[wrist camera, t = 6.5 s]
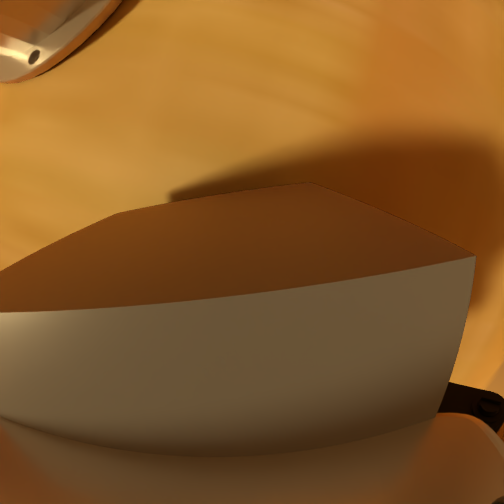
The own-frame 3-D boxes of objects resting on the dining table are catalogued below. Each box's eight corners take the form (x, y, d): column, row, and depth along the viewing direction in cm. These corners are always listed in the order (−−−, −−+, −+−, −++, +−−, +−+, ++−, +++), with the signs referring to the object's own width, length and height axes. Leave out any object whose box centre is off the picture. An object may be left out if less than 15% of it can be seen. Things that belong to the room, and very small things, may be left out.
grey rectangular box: (116, 213, 11) (-64, 312, 2) (310, 182, 11) (476, 256, 2) (177, 402, 14) (140, 545, 6) (322, 389, 14) (358, 543, 5)
